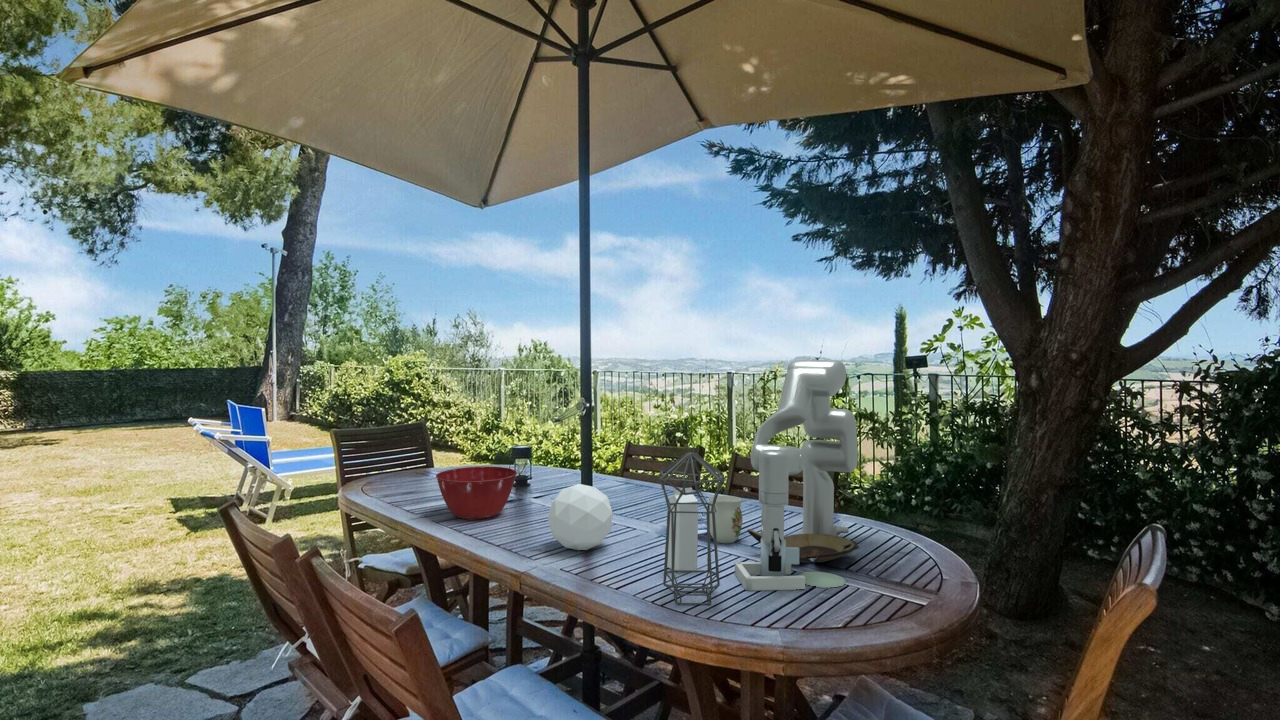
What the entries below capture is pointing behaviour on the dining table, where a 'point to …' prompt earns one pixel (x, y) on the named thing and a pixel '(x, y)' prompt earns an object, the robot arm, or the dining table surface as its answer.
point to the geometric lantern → (718, 480)
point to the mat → (822, 579)
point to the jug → (788, 557)
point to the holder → (766, 578)
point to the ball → (580, 517)
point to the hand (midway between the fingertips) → (773, 565)
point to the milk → (684, 533)
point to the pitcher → (726, 518)
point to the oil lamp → (816, 545)
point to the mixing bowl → (476, 490)
